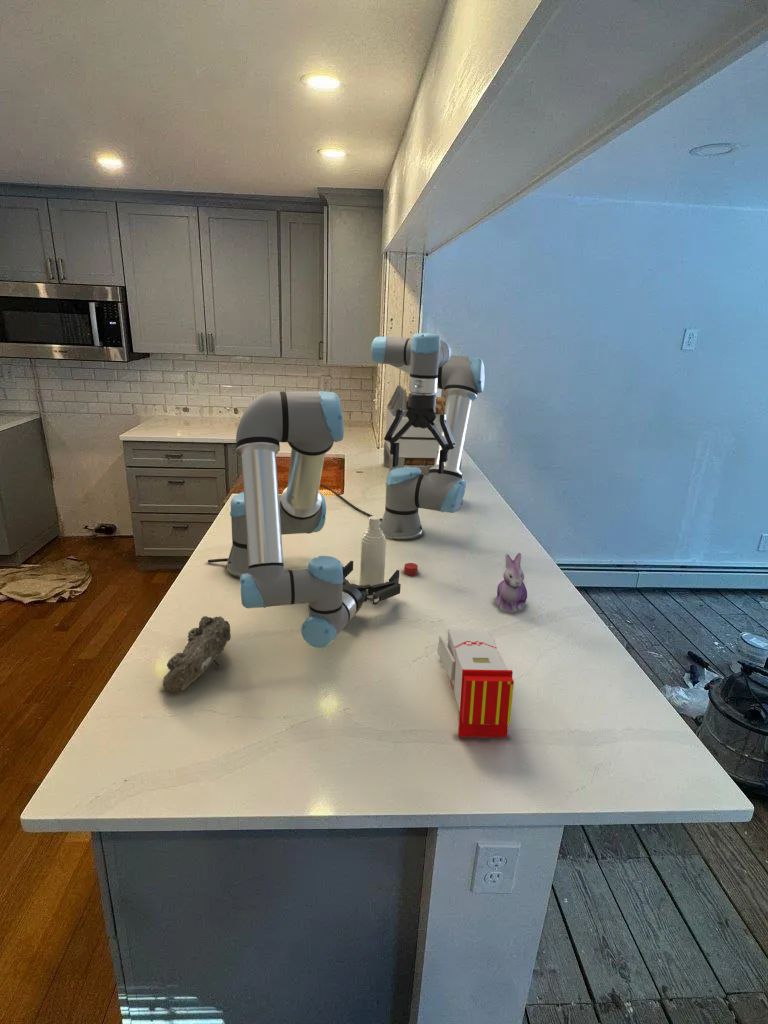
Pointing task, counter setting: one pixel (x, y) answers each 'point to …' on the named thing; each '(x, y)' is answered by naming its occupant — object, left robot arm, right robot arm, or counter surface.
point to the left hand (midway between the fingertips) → (374, 569)
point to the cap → (410, 569)
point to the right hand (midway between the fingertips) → (417, 469)
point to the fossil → (197, 653)
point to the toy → (478, 682)
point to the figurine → (512, 586)
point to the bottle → (373, 554)
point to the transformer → (412, 434)
